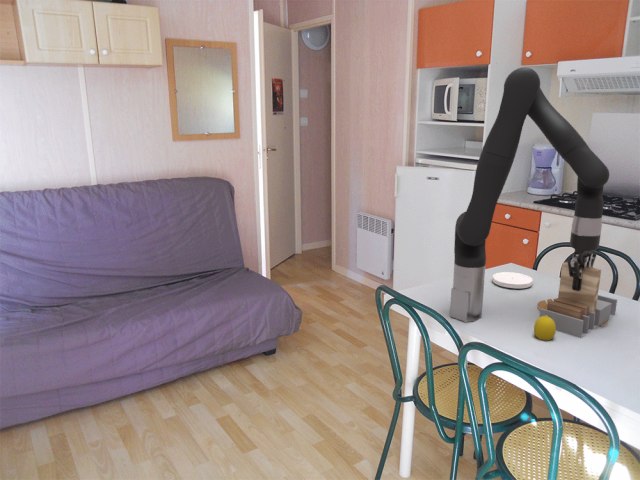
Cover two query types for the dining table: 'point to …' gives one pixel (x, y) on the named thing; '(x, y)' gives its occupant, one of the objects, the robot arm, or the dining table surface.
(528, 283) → the plastic lid
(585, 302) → the wooden block
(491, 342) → the dining table surface
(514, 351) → the dining table surface
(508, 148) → the robot arm
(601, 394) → the dining table surface
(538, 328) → the lemon
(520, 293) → the dining table surface
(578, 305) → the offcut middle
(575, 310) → the offcut front
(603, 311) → the rack
